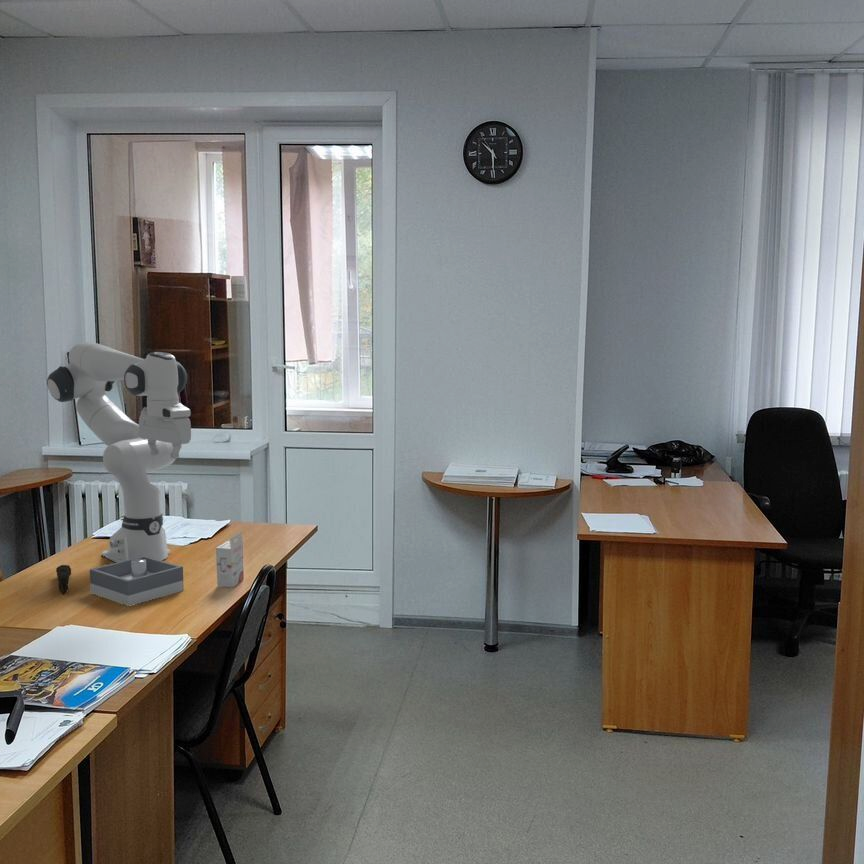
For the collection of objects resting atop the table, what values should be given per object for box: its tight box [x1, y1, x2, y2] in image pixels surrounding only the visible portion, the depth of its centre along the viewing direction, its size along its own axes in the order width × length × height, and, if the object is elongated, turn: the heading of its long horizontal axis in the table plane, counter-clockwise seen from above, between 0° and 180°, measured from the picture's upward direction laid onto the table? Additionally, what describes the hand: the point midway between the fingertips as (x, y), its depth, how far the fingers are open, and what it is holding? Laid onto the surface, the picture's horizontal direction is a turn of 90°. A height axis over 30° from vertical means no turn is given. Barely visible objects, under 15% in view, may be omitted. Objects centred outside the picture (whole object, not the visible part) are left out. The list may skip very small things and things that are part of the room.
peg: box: [131, 559, 147, 579], centre depth 255 cm, size 4×4×9 cm
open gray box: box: [89, 556, 185, 607], centre depth 255 cm, size 18×18×7 cm
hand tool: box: [55, 564, 72, 595], centre depth 261 cm, size 19×4×5 cm, turn 19°
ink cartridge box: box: [215, 531, 244, 588], centre depth 264 cm, size 9×5×15 cm, turn 168°
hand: (164, 456), depth 261 cm, fingers open, 8 cm apart
